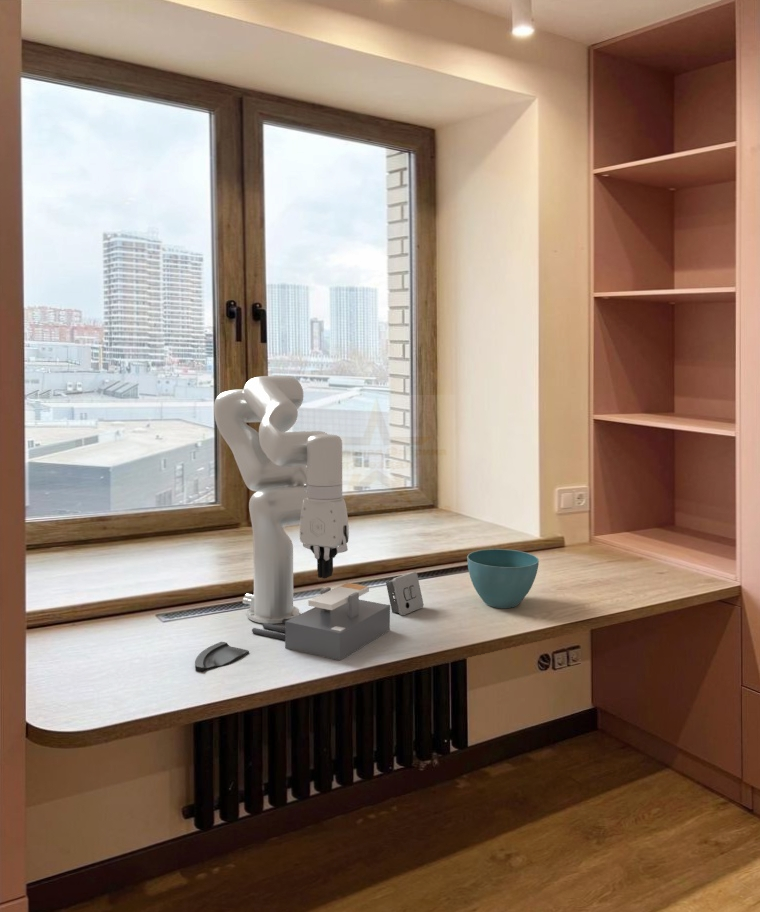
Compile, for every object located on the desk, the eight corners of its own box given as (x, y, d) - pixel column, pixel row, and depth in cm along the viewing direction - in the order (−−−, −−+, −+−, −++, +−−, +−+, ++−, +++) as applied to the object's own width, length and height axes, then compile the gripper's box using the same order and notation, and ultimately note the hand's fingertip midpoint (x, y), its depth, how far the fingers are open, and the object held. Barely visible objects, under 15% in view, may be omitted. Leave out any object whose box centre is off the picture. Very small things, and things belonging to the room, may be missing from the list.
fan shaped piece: (177, 669, 167) (177, 661, 167) (220, 648, 179) (220, 641, 178) (209, 676, 163) (209, 669, 163) (251, 655, 175) (251, 647, 174)
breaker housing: (285, 648, 178) (285, 599, 176) (338, 619, 197) (339, 575, 195) (339, 660, 171) (340, 609, 170) (389, 630, 190) (390, 584, 189)
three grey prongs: (250, 633, 187) (250, 628, 186) (277, 620, 195) (277, 616, 195) (294, 643, 181) (294, 638, 180) (319, 629, 189) (320, 624, 189)
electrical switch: (402, 616, 200) (400, 579, 199) (385, 614, 203) (383, 577, 202) (424, 608, 207) (422, 572, 207) (408, 605, 210) (406, 570, 210)
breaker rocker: (308, 605, 177) (308, 599, 177) (346, 587, 191) (346, 582, 191) (331, 610, 174) (331, 604, 174) (369, 591, 188) (369, 586, 188)
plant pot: (543, 615, 203) (545, 567, 201) (470, 614, 202) (471, 566, 201) (529, 593, 221) (531, 549, 219) (462, 592, 220) (463, 548, 219)
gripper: (285, 492, 174) (286, 576, 176) (345, 497, 167) (345, 585, 169) (305, 487, 181) (306, 568, 183) (363, 493, 173) (363, 577, 175)
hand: (325, 576), depth 176 cm, fingers closed
